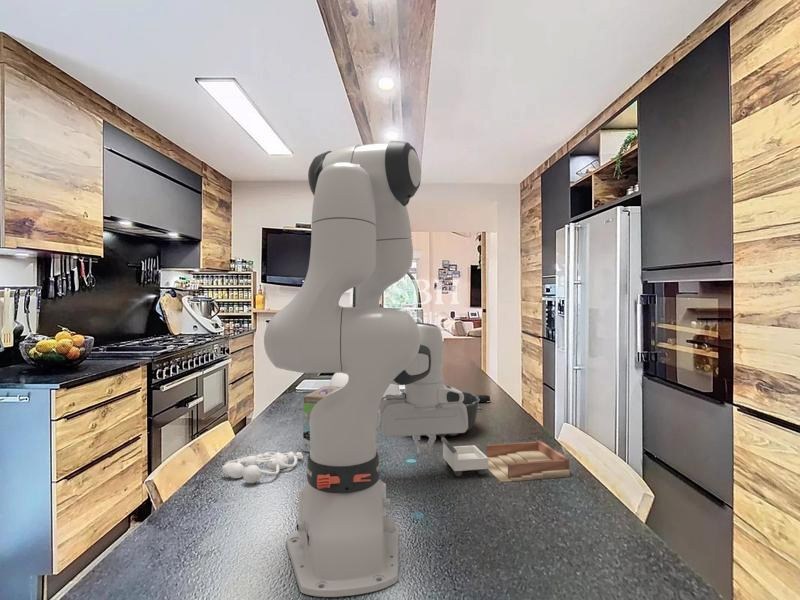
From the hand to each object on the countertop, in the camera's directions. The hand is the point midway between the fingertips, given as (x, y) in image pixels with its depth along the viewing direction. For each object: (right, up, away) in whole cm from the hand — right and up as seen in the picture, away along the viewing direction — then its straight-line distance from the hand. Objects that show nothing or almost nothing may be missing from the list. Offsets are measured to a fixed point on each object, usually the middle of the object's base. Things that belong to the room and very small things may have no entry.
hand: (424, 453), depth 107 cm
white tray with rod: (+10, -5, +2) cm, 11 cm away
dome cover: (-19, -4, +70) cm, 72 cm away
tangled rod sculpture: (-38, -5, +3) cm, 38 cm away
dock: (+23, -5, +5) cm, 24 cm away
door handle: (+19, -4, +64) cm, 67 cm away
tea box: (-25, -5, +21) cm, 32 cm away
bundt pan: (+5, -5, +35) cm, 35 cm away
